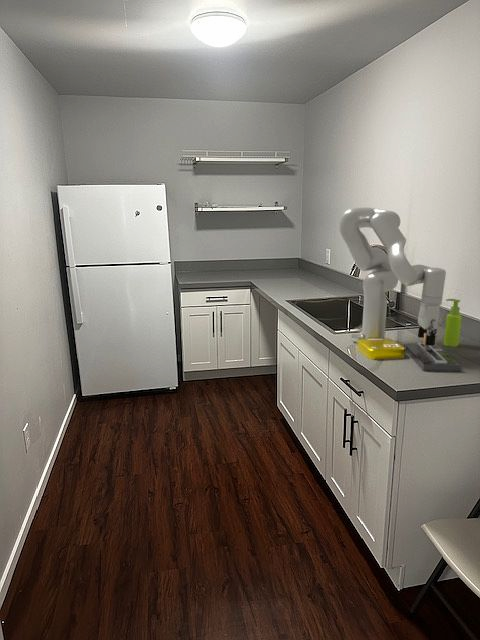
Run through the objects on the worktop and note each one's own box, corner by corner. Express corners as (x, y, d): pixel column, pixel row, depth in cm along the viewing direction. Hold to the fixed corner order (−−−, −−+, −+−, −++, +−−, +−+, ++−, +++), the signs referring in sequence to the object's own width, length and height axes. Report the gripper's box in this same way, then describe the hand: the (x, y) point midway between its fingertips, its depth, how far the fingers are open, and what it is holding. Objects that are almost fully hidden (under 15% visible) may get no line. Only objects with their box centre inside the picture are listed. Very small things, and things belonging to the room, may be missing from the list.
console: (423, 370, 167) (424, 361, 166) (404, 350, 190) (405, 342, 189) (459, 371, 166) (460, 362, 165) (436, 350, 189) (437, 342, 188)
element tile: (388, 347, 195) (389, 336, 194) (405, 358, 181) (407, 347, 180) (355, 348, 193) (356, 338, 192) (370, 360, 179) (371, 349, 177)
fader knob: (424, 350, 180) (426, 334, 179) (421, 347, 184) (423, 332, 182) (432, 350, 180) (433, 335, 178) (429, 347, 184) (430, 332, 182)
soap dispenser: (443, 341, 201) (448, 297, 196) (459, 344, 197) (465, 299, 192) (439, 344, 197) (444, 299, 192) (456, 347, 193) (461, 301, 188)
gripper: (415, 294, 185) (409, 334, 190) (428, 304, 169) (422, 348, 174) (433, 295, 185) (428, 334, 190) (449, 305, 168) (443, 348, 173)
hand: (425, 341), depth 182 cm, fingers open, 9 cm apart
